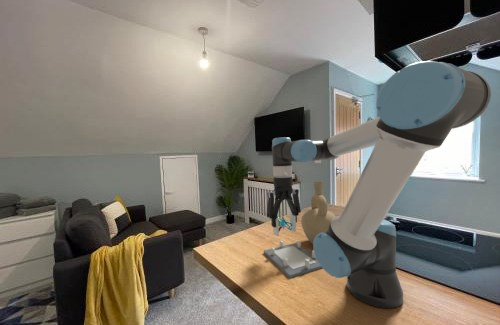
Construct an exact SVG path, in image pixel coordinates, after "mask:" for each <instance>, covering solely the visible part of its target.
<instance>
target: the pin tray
mask: <svg viewBox="0 0 500 325" xmlns="http://www.w3.org/2000/svg"><path fill="white" fill-rule="evenodd" d="M263 254H264V255H265V256H266V257H267V258H269V259H270V261H271V262H272V263H273V264H274V265H275V266H276V267H278V269H280V270H281V272H283V273H284V274H285V275H286V276H287V277H288V278H289V279H293V278H296V277H299V276H301V275H305V274H307V273H308V274H309V273H311V272H314V271H318V270H320V269H323V268H322V267H321V265H320V264H319V262H318V260H317V258H316V256H315V252H314V249H313V250H312V251H311V252H310V251H308V250H307V249H306V248H304V247H303V246H302V241H301V240H298V241H297V242H295V243H290V244H286V245H284V240H279V246H278V247H273V246H272V247H270V248H269V249H264V250H263Z"/></svg>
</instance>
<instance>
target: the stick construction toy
mask: <svg viewBox="0 0 500 325" xmlns="http://www.w3.org/2000/svg"><path fill="white" fill-rule="evenodd" d="M277 219H278V226H279V232H281V229H282V230H284V229H285V228H286V229H287V230H289V231H292V230H291V229H292V228H291V226H292V224H291V223H290V222H289V221H286V219H285V217H284V216H282V217H279V216H277ZM290 225H291V226H290Z"/></svg>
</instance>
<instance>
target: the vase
mask: <svg viewBox="0 0 500 325" xmlns="http://www.w3.org/2000/svg"><path fill="white" fill-rule="evenodd" d="M312 183H313V187H314V194H313V195H312V196H311V198H310V206H311V209H309V210H306V211H305V212H304V213H303V215H302V217H301V222H300V223H301V227H302V230H303V232H304V235H305V237H306V238H307V240H308V241H309V242H310V244H312V245H313V241H314V238H315V237H316V235H318V234H320V233H324V232H326V231H327V229H328V227H329V225H330V223H331V221H332V219H333V218H334V217H336V216H335V214H334V213H333V212H331V211H329V210H328V207H329V206H328V202H327V199H326V197H325V196H324V195H323V187H324V182H322V181H314V182H312Z"/></svg>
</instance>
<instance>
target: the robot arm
mask: <svg viewBox="0 0 500 325" xmlns="http://www.w3.org/2000/svg"><path fill="white" fill-rule="evenodd" d="M491 92H492V91H491V86H490V84H489V83H488V81H487V80H486V79H485V78H484V77H482V75H480V74H478V73H476V72H473V71H470V70H466V69H464V68H461V67H458V66H457V65H454V64H452V63H447V62H444V61H439V62H438V61H433V60H427V61H418V62H414V63H411V64H408V65H406V66H405V67H403V68H402V69H400V70H398V71H396V72H395V73H393V74H392V75H391V76H390V77H389V78H388V79H387V80H386V81H385V82H384V84H383V85H382V87H381V89H379V92H378V95H377V97H376V104H375V105H376V109H377V117H375V118H373V119H370V120H368V121H364V123H361V124H359V125H356V126H353V127H352V128H349V129H346V130H344V131H342V132H339V133H337V134H334V135H332V136H329V137H328V138H325V139H323V140H310V139H298V140H293V141H292V140H291V138H290V137H285V136H284V137H281V136H280V137H275V138H273V139H272V140H271V142H272V144H271V153H272V154H271V155H272V156H271V157H272V171H273V176H274V177H273V178H272V179H273V187H274V188H273V191H268V192H267V193H266V194H267V198H268V199H267V209H266V218H268V219H270V221H271V227H272V228H273V235H275V236H276V237H279V235H280V233H279V232H280V231H279V226H278V220H279V219H278V218H277V217H278V215H279V211H280V207H281V204H283V201H285V200H286V203H287V205H288V208H289V210H290V212H291V213H290V214H289V220H290V222H289V223H291V224H292V226H291V225H290V224H289V226H290V229H291V228H292V229H291V230H290V231H293V232H295V233H297V223H298V216H299V215H300V213H301V212H302V208H301V204H300V197H299V191H300V190H299V189H297V188H293V184H294V183H293V162H295V163H296V162H298V163H306V162H307V163H308V162H313V161H333V160H336V159H338V158H339V157H340V156H343V155H346V154H350V153H354V152H357V151H360V150H364V149H368V148H370V147H373V148H372V151H371V153H370V155H369V158H368V160H367V161H366V164H365V166H364V167H363V170H362V172H361V173H360V176H359V178H358V179H357V182H356V184H355V186H354V188H353V190H352V192H351V194H350V196H349V198H348V200H347V202H346V204H345V206H344V208H343V210H342V212H341V214H340V215H338V216H337V215H336V216H335V217H334V218H333V219H332V221H331V223H330V225H329V227H328V229H327V231H326V232H324V233H320V234H318V235H316V237H315V238H314V241H313V244H312V247H313V250H314V252H315V256H316V258H317V260H318V262H319V264H320V265H321V267H322V268H321V269H323V271H325V273H327V274H328V275H329V276H331V277H334V278H335V279H336V278H337V279H342V278H346V286H347V289H348V291H349V292H350V294H352V296H353V297H355V298H356V299H357V300H359V301H361V302H363V303H365V304H367V305H370V306H373V307H376V308H382V309H394V308H398V307H400V306H402V304H403V302H404V290H403V288H402V286H401V282H400V280H399V277H398V274H397V234H396V230H397V229H396V226H395V224H393V222H390V221H389V220H387V219H385V218H386V216H387V215H388V213H389V211H390V209H391V207H393V205H394V203H395V202H396V200H397V198H398V196H399V195H400V193H401V192H402V191H403V189H404V187H405V185H406V184H407V182H408V181H409V179H410V178H411V176H412V174H413V173H414V171H415V170H416V168H417V166H418V164H419V163H420V161H421V160H422V158H423V157H424V155H425V153H426V152H428V151H431V150H434V149H437V148H440V147H441V146H442V145H443V143H444V142H445V140H447V139H446V138H447V137H448V135H449V134H450V132H451V131H452V130H453V129H457V128H461V127H464V126H467V125H468V124H470V123H472V122H474V121H475V120H476V119H478V118H479V117H481V115H483V113H485V112H486V110H487V108H488V107H489V104H490V102H491V97H492V93H491Z"/></svg>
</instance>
